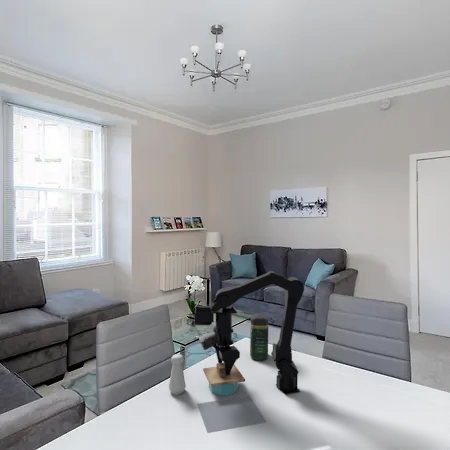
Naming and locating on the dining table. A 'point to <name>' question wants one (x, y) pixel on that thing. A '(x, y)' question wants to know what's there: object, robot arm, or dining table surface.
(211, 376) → the lid
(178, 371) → the salt shaker
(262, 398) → the dining table surface
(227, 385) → the bowl
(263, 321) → the coffee jar
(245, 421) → the mat
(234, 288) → the robot arm
